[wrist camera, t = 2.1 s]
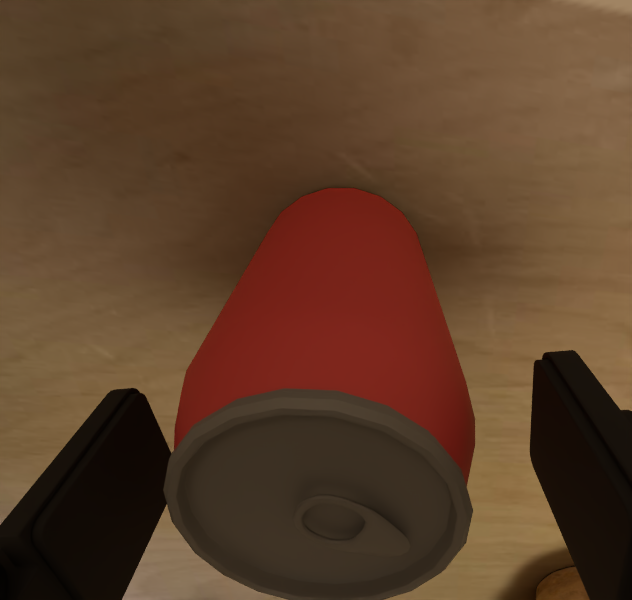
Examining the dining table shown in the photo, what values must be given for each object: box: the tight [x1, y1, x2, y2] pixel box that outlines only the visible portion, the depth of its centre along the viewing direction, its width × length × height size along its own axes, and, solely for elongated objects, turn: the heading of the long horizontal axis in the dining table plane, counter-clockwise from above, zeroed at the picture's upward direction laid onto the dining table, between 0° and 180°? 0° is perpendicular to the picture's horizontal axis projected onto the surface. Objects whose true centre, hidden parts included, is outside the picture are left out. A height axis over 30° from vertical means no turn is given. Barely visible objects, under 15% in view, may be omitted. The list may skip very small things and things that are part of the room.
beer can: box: [163, 188, 475, 600], centre depth 13 cm, size 7×7×12 cm
